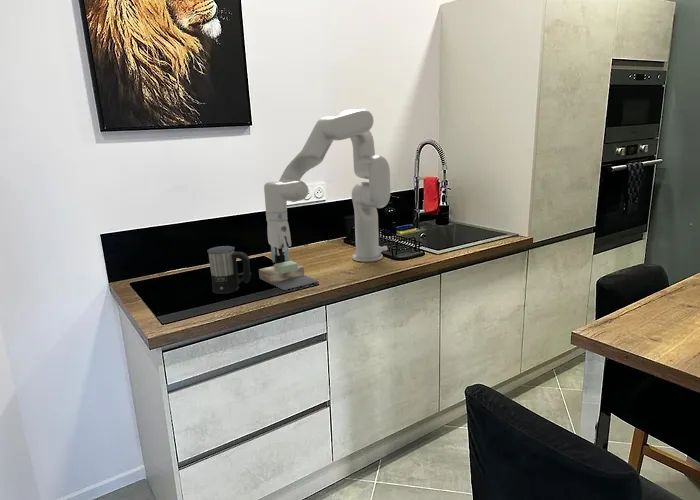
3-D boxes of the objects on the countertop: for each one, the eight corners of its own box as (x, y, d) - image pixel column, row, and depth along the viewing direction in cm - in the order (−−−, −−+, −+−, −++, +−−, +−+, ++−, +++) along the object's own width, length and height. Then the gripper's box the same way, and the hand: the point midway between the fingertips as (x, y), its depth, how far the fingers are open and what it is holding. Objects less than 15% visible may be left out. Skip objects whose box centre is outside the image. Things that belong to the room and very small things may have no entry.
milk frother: (211, 295, 163) (206, 253, 159) (212, 282, 177) (207, 242, 174) (254, 290, 166) (250, 249, 162) (251, 277, 181) (247, 239, 177)
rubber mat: (304, 276, 180) (304, 275, 180) (318, 282, 173) (318, 281, 172) (271, 284, 172) (270, 283, 172) (284, 290, 165) (284, 289, 165)
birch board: (292, 270, 187) (291, 262, 187) (304, 275, 180) (303, 266, 180) (259, 278, 180) (258, 269, 179) (270, 284, 172) (269, 274, 172)
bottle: (269, 263, 198) (266, 228, 194) (277, 259, 204) (275, 224, 201) (283, 265, 195) (281, 229, 192) (292, 260, 202) (289, 225, 198)
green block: (291, 266, 180) (290, 260, 179) (298, 269, 176) (297, 263, 175) (274, 270, 176) (273, 264, 175) (281, 273, 172) (280, 267, 171)
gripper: (296, 217, 171) (299, 267, 175) (276, 212, 182) (279, 259, 187) (277, 220, 166) (280, 271, 171) (258, 215, 178) (262, 262, 183)
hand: (280, 264), depth 179 cm, fingers closed
